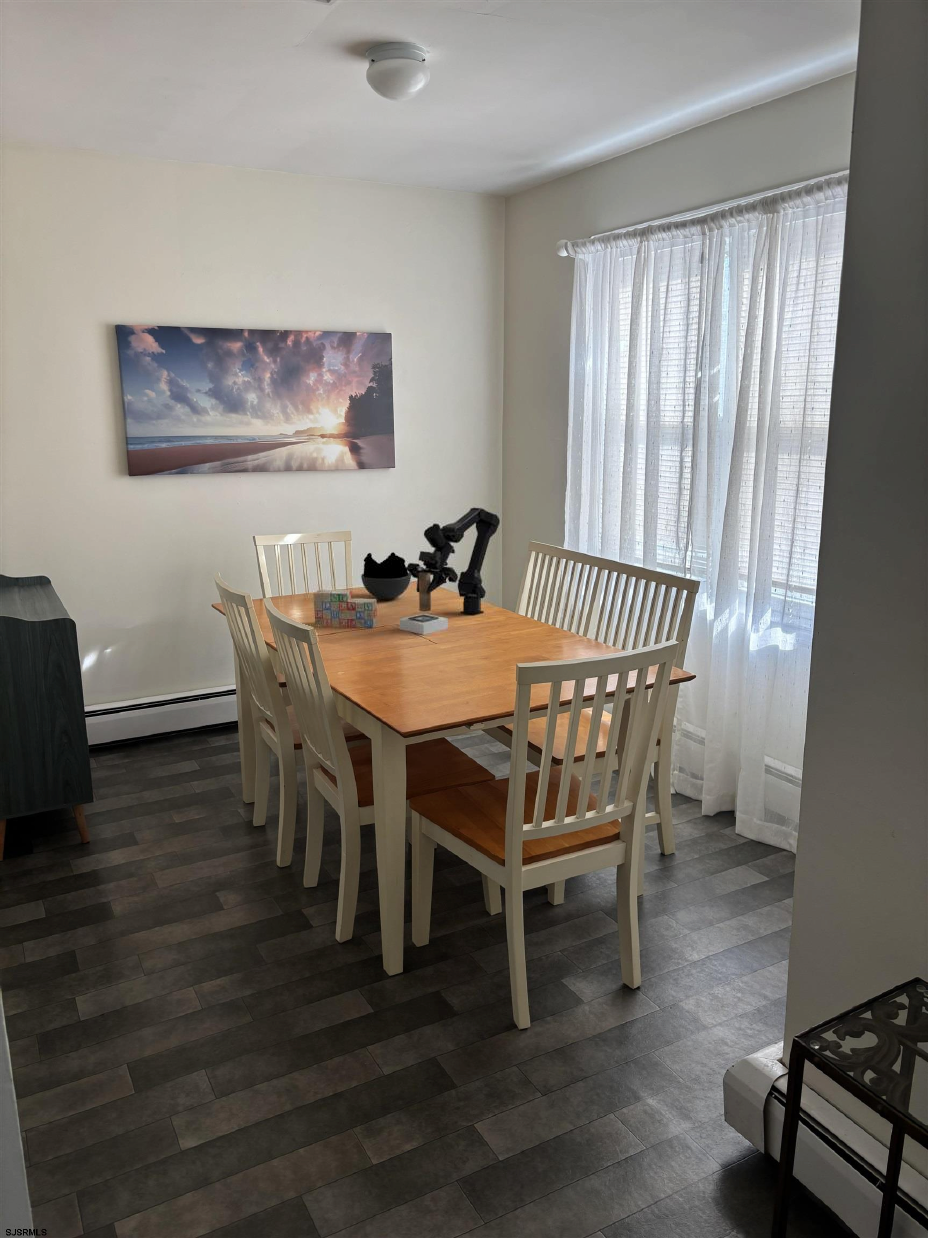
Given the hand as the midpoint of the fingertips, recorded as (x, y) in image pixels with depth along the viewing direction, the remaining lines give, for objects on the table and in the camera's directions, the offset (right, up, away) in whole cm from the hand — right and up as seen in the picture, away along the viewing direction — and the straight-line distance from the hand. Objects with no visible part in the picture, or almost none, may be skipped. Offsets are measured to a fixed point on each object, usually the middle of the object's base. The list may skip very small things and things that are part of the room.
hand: (422, 592), depth 310 cm
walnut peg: (+1, -6, +3) cm, 7 cm away
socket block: (0, -13, +5) cm, 13 cm away
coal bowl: (-17, -1, +54) cm, 57 cm away
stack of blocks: (-28, -12, +11) cm, 32 cm away
